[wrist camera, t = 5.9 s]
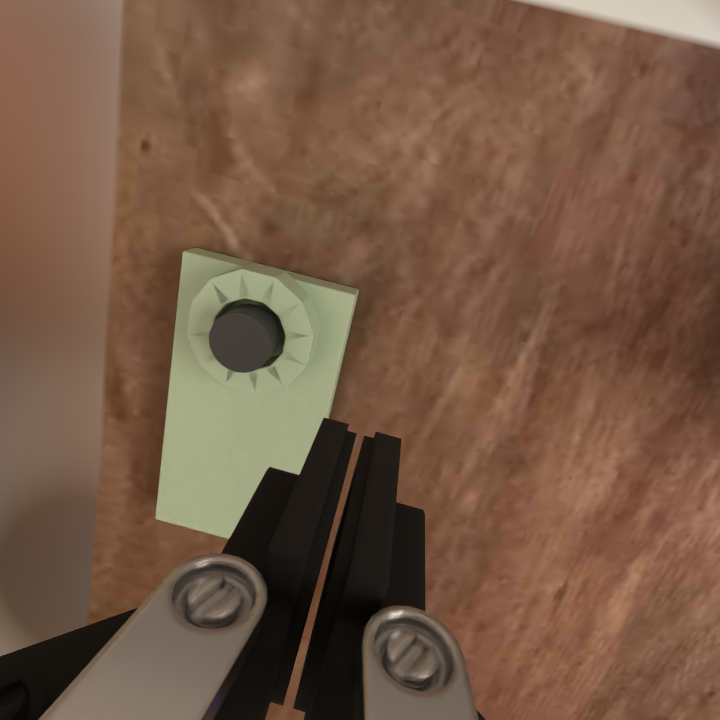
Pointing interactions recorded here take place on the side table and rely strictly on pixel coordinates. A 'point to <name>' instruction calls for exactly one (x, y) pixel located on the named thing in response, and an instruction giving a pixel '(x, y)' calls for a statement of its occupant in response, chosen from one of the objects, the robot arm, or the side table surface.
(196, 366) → the scale
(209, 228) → the side table surface
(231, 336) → the button
